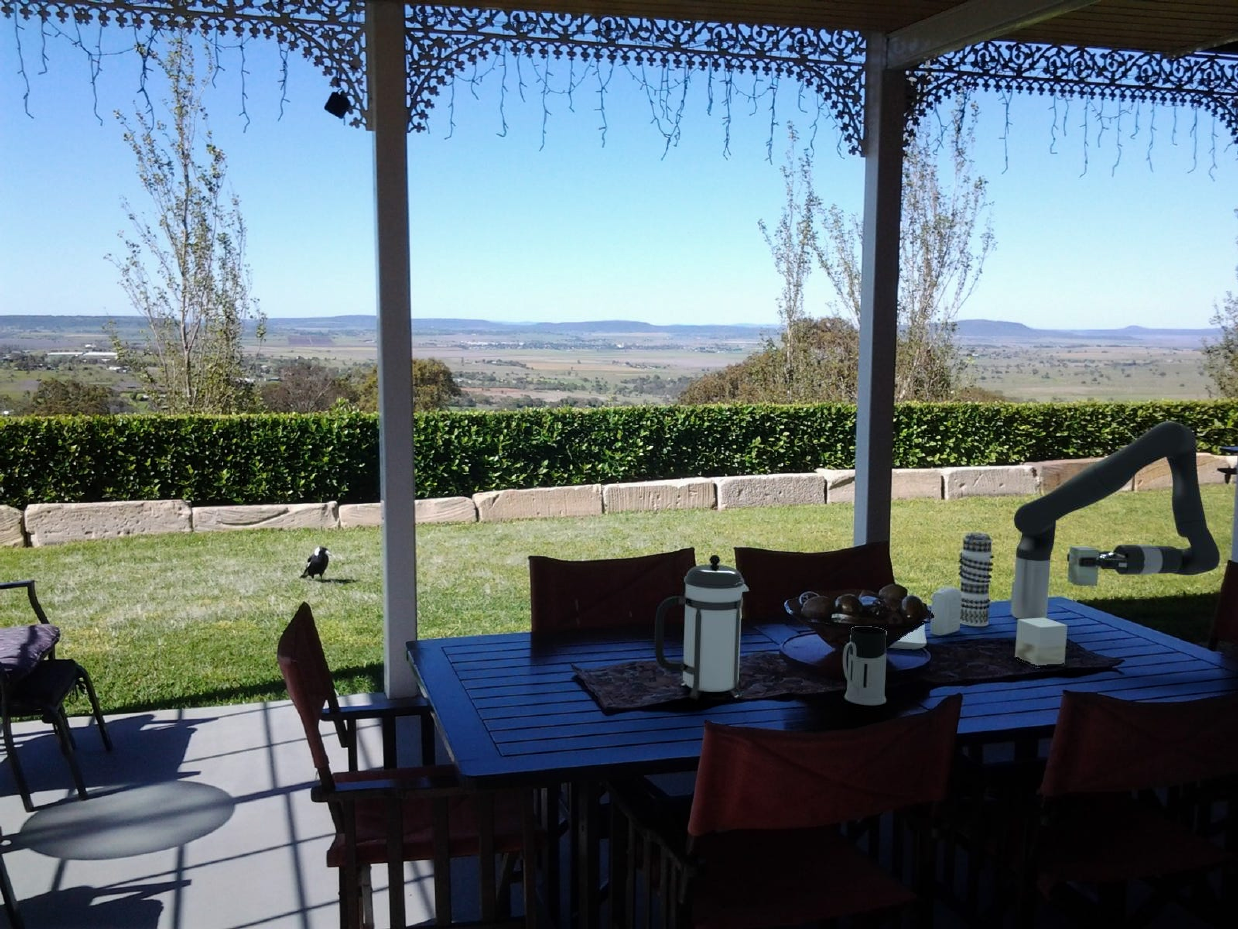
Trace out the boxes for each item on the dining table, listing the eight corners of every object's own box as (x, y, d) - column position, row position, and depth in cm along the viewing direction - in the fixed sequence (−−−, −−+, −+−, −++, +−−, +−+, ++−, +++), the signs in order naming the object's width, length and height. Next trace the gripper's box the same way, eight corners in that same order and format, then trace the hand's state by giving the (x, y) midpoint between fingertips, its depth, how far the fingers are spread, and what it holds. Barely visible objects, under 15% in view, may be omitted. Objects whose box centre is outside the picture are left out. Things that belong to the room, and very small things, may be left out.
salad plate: (839, 648, 277) (839, 635, 276) (842, 628, 297) (843, 616, 297) (926, 656, 272) (927, 642, 271) (923, 635, 292) (924, 622, 292)
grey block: (1016, 639, 270) (1017, 619, 269) (1042, 637, 273) (1043, 617, 272) (1039, 647, 262) (1040, 627, 262) (1065, 645, 265) (1067, 625, 265)
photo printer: (947, 627, 299) (950, 583, 298) (961, 630, 296) (964, 585, 295) (927, 633, 292) (930, 588, 291) (942, 637, 289) (944, 591, 288)
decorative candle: (967, 616, 312) (972, 530, 310) (996, 623, 305) (1002, 534, 303) (948, 621, 306) (953, 532, 304) (978, 628, 299) (983, 537, 297)
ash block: (1014, 659, 270) (1016, 639, 270) (1042, 657, 273) (1043, 637, 272) (1036, 668, 263) (1037, 647, 262) (1064, 666, 265) (1065, 645, 265)
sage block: (1067, 581, 277) (1069, 546, 276) (1086, 581, 277) (1088, 546, 276) (1078, 585, 272) (1080, 549, 271) (1097, 585, 272) (1099, 549, 271)
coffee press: (698, 675, 249) (702, 545, 246) (758, 691, 239) (763, 555, 236) (651, 693, 236) (655, 555, 233) (712, 709, 226) (717, 566, 223)
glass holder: (893, 698, 236) (897, 630, 235) (860, 714, 226) (863, 642, 224) (857, 689, 242) (860, 623, 240) (823, 704, 231) (826, 634, 230)
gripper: (1122, 539, 282) (1059, 539, 280) (1155, 550, 268) (1090, 550, 266) (1120, 568, 283) (1057, 568, 281) (1153, 580, 269) (1088, 580, 267)
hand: (1073, 559), depth 273 cm, fingers closed on sage block, 5 cm apart
